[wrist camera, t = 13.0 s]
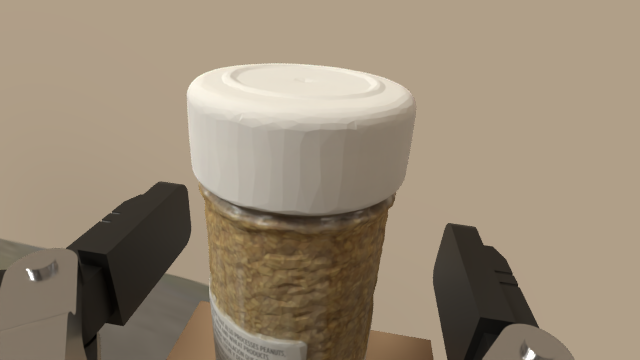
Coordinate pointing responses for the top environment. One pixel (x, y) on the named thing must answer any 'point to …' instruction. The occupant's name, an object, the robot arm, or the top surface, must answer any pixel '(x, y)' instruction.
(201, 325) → the block
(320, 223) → the sprinkles bottle
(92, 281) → the robot arm
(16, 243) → the top surface
